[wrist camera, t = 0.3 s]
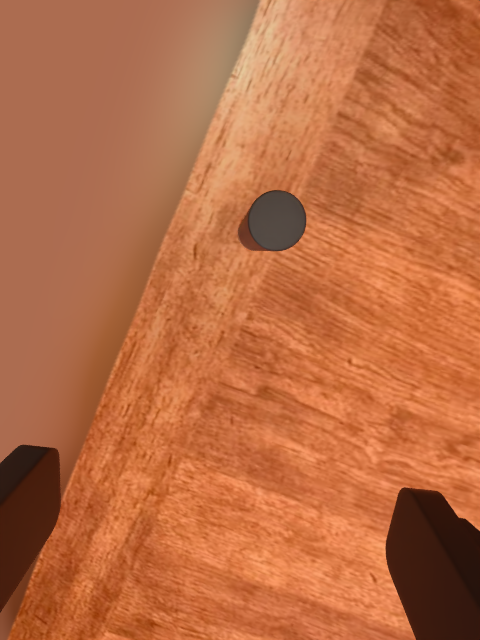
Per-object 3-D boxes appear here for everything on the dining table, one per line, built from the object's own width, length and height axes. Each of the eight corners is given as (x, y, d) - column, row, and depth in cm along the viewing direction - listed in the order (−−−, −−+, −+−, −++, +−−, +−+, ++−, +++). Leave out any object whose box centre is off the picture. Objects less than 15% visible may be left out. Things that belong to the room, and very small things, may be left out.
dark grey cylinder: (230, 231, 28) (235, 217, 16) (256, 208, 27) (281, 176, 15) (252, 257, 28) (273, 263, 16) (278, 235, 28) (318, 224, 16)
